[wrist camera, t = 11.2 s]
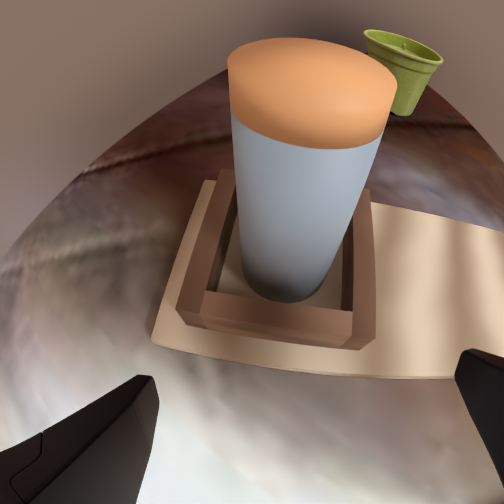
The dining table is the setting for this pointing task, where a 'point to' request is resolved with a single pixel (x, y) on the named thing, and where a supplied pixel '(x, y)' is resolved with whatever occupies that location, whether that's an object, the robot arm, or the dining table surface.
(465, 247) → the jig
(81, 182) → the dining table surface
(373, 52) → the plant pot
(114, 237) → the dining table surface
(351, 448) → the dining table surface
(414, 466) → the dining table surface
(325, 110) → the orange-capped blue cylinder
